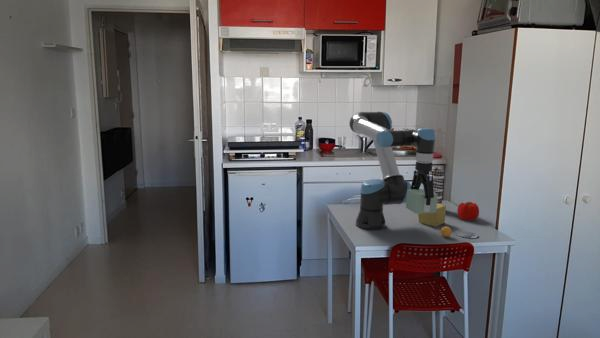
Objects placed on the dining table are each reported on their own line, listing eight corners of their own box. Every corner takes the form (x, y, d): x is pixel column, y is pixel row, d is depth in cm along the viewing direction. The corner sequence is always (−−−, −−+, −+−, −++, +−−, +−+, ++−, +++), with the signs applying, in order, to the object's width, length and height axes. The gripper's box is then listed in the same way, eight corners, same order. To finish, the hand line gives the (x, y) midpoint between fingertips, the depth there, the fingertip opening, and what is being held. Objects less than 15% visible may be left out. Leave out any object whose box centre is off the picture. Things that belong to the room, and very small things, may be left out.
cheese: (427, 218, 246) (429, 200, 244) (445, 223, 239) (447, 205, 237) (417, 222, 239) (418, 204, 237) (435, 227, 232) (437, 208, 230)
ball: (443, 238, 215) (444, 228, 214) (438, 235, 220) (439, 225, 219) (453, 238, 216) (454, 228, 215) (447, 234, 221) (448, 224, 220)
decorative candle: (428, 211, 259) (432, 168, 254) (423, 207, 268) (426, 165, 263) (444, 211, 260) (448, 169, 255) (438, 207, 269) (442, 166, 264)
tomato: (465, 215, 254) (467, 199, 253) (482, 221, 244) (484, 204, 242) (451, 217, 250) (453, 201, 248) (468, 223, 239) (470, 207, 237)
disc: (464, 239, 215) (464, 239, 215) (453, 232, 224) (453, 232, 224) (483, 238, 217) (483, 237, 217) (471, 231, 226) (471, 231, 226)
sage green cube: (415, 213, 206) (417, 194, 204) (405, 207, 216) (407, 189, 214) (436, 212, 208) (437, 194, 207) (425, 206, 218) (426, 188, 216)
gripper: (444, 166, 198) (440, 215, 202) (419, 157, 219) (416, 201, 224) (429, 166, 196) (425, 215, 200) (405, 157, 218) (402, 202, 222)
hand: (420, 208), depth 212 cm, fingers closed on sage green cube, 10 cm apart
